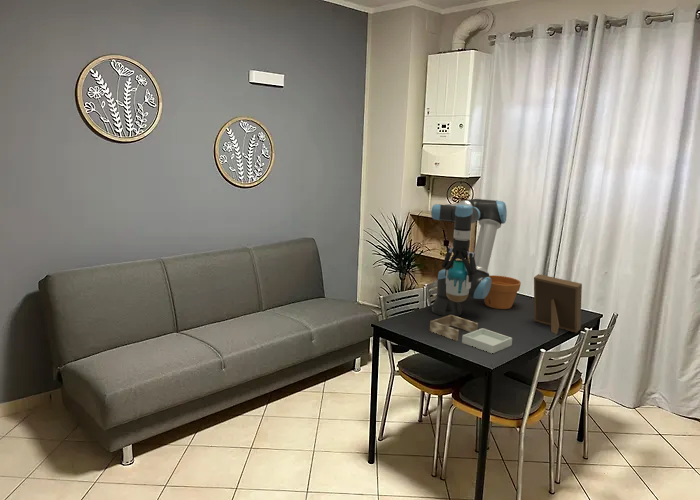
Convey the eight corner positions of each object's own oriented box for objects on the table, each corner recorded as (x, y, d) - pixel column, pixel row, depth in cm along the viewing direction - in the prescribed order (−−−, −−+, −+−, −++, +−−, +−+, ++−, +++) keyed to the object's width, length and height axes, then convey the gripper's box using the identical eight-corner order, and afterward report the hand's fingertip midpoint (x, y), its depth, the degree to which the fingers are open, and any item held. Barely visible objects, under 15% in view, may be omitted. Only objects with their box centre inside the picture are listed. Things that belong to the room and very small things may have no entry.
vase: (463, 306, 238) (466, 265, 234) (441, 301, 243) (444, 261, 239) (471, 300, 247) (474, 260, 243) (450, 296, 252) (453, 257, 248)
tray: (461, 342, 235) (462, 335, 235) (481, 335, 246) (482, 328, 245) (492, 353, 224) (493, 346, 223) (511, 345, 235) (512, 337, 234)
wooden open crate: (429, 331, 248) (430, 321, 247) (450, 324, 259) (451, 314, 258) (456, 341, 237) (457, 330, 236) (477, 333, 248) (478, 323, 247)
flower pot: (492, 297, 308) (494, 273, 305) (525, 306, 293) (528, 281, 290) (471, 304, 294) (473, 278, 291) (504, 313, 279) (507, 287, 276)
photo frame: (538, 319, 272) (543, 272, 267) (580, 330, 257) (586, 281, 251) (524, 325, 262) (529, 277, 256) (567, 338, 247) (573, 287, 241)
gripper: (436, 235, 245) (433, 281, 249) (478, 244, 228) (474, 293, 233) (446, 234, 250) (442, 279, 254) (488, 242, 233) (483, 290, 238)
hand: (457, 285), depth 243 cm, fingers closed on vase, 11 cm apart
